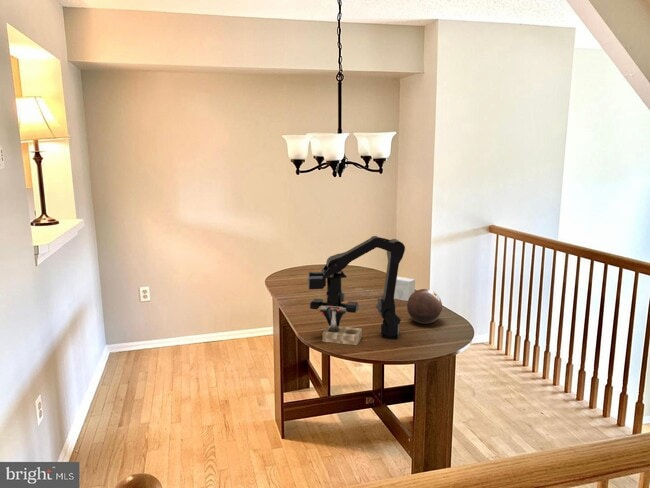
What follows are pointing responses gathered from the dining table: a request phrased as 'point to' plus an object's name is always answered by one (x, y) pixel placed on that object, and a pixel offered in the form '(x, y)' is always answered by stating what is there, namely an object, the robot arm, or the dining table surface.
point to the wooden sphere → (424, 306)
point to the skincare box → (404, 288)
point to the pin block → (343, 335)
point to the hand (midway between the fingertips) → (334, 325)
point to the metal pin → (333, 320)
